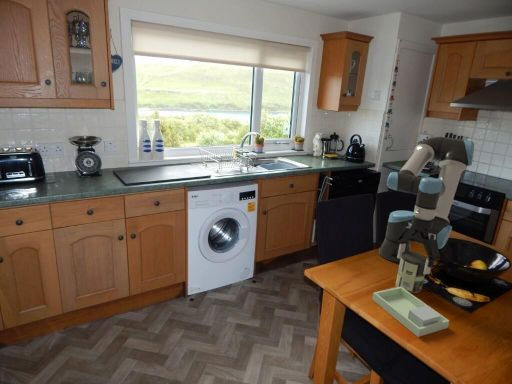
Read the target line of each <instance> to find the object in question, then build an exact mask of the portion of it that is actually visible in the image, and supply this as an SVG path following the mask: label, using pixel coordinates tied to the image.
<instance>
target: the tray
mask: <svg viewBox="0 0 512 384" xmlns="http://www.w3.org/2000/svg"><path fill="white" fill-rule="evenodd" d="M371 300H372V301H373V302H375V303H376V304H377V305H378V306H380V307H381V308H382V309H383V310H384V311H385V312H387V313H388V314H389V315H391V317H393V318H394V319H395V320H396V321H398V322H399V323H400V324H401V325H402V326H404V327H405V328H406V329H408V330H409V332H411V333H412V334H413V335H415V336H416V338H419V337H423V336H425V335H426V336H427V335H429V334H432V333H435V332H439V331H442V330H445V329H448V327H449V323H450V320H449V319H448V318H446V317H445V316H444V315H442V314H441V313H439V312H438V311H436V310H435V309H433V308H432V307H431V306H430V305H427V304H426V303H425V302H423V301H422V300H421V299H419V298H418V297H416V296H415V295H413V294H412V292H408V291H406V290H405V289H404V288H402V287H397V286H396V287H391V288H387V289H384V290H379V291H374V292H373V293H372V298H371ZM423 306H427V307H429V308H430V309H431V310H433V311H434V312H436V313H437V314H438V315H440V320H439V322H437V323H433V324H430V325H426V326H423V327H420V328H419V327H418V326H417V325H416V324H414V323H413V322H412V321H411V320H409V319H408V314H409V310H412V309H415V308H419V307H423Z"/></svg>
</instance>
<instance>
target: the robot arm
mask: <svg viewBox="0 0 512 384" xmlns="http://www.w3.org/2000/svg"><path fill="white" fill-rule="evenodd" d="M474 152H475V142H474V141H473V140H469V139H465V138H464V139H460V138H454V137H444V136H434V137H433V136H432V137H429V138H426V139H424V140H422V141H421V142H419V143H418V144H417V145H416V146H415V147H414V148H413V151H412V155H411V156H410V157H409V159H408V160H407V161H406V162H405V163H404V165H403V166H402V167H401V169H400V170H399V171H398V172H397V171H392V172H390V173H389V175H388V177H387V180H386V186H387V188H388V189H390V190H394V191H396V192H397V191H398V192H403V193H407V194H412V195H416V201H415V205H414V209H413V211H410V210H395V211H392V212H390V213H389V218H388V221H387V226H386V232H385V237H384V240H383V241H382V243H381V245H380V246H379V248H378V249H379V250H378V254H379V255H380V257H382V258H383V259H385V260H386V261H387V260H388V261H390V262H393V263H399V264H400V259H401V253H402V252H405V251H411V250H412V249H411V243H416V244H419V245H423V247H424V250H425V252H426V255H427V259H426V263H425V268H424V272H423V274H425V275H429V274H431V269H432V268H433V267H434V264H435V262H437V261H440V260H441V254H440V249H442V248H444V246H445V245H446V244H447V242H448V240H449V238H450V235H451V232H452V230H453V226H452V225H450V220H449V218H448V216H449V214H450V211H451V208H452V205H453V201H454V198H455V194H456V193H457V188H458V185H459V183H460V182H459V181H460V179H461V175H462V173H463V172H464V171H466V170H467V169H468V167H470V166H472V164H473V161H474V160H473V159H474ZM430 161H438V162H439V166H440V167H441V169H440V171H439V175H438V177H437V178H435V177H427V176H426V177H421V176H419V175H420V173H421V172H422V171H423V169H424V168H425V166H426V165H427V164H428V162H430ZM411 252H412V251H411Z"/></svg>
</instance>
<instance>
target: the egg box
mask: <svg viewBox="0 0 512 384" xmlns="http://www.w3.org/2000/svg"><path fill="white" fill-rule="evenodd" d="M429 307H430V306H429ZM429 307H427V306H423V307H419V308H415V309H412V310H409V314H408V319H409V320H411V321H412V322H413V323H414V324H416V325H417V326H418V327H419V328H420V327H423V326H426V325H430V324H433V323H437V322H439V320H440V315H438V314H437V313H436V312H437V311H436V312H434V311H433V310H434V309H433V310H431V309H430V308H429Z"/></svg>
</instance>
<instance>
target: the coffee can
mask: <svg viewBox="0 0 512 384" xmlns="http://www.w3.org/2000/svg"><path fill="white" fill-rule="evenodd" d="M427 258H428V256H426V255H424V254H423V253H419V252H416V251H405V252H402V253H401V259H400V263H399V265H398V270H397V275H396V280H395V287H396V288H397V287H402V288H404V289H405V290H406V291H408V292H409V293H415V294H416V293H420V292H421V291H422V290H423V286H424V285H423V284H424V281H425V276H426V274H423V272H424V268H425V263H426V259H427Z"/></svg>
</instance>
